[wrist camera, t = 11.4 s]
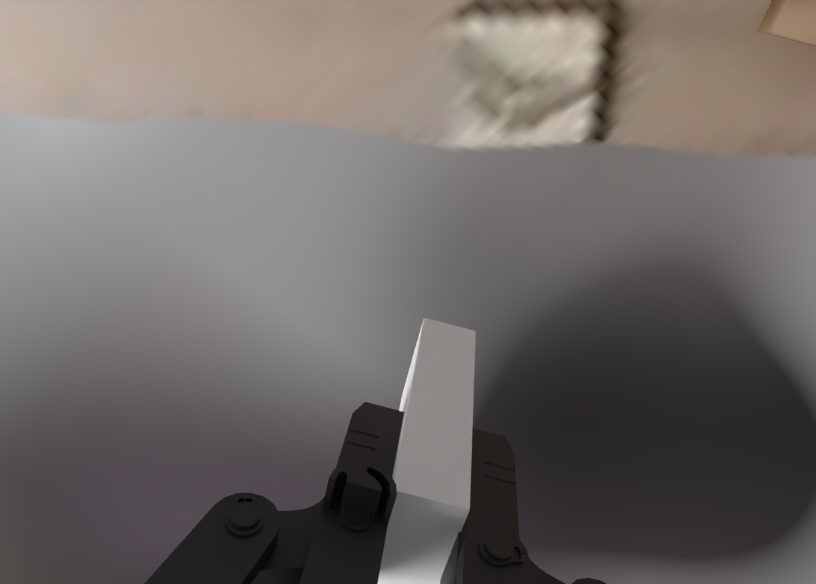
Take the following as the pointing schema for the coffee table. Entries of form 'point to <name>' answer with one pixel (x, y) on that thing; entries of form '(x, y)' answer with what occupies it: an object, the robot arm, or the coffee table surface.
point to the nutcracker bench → (791, 20)
